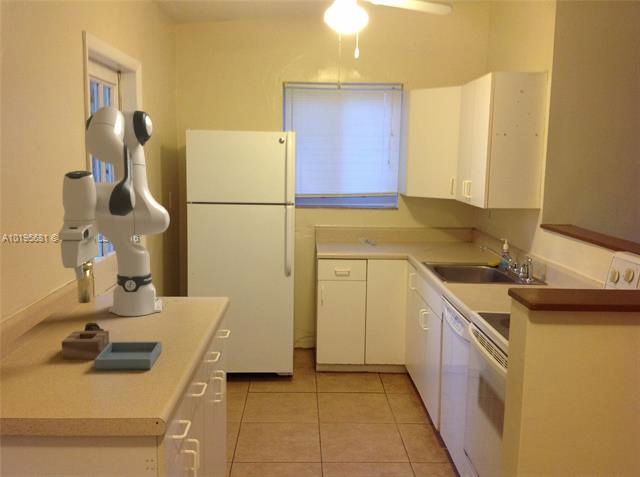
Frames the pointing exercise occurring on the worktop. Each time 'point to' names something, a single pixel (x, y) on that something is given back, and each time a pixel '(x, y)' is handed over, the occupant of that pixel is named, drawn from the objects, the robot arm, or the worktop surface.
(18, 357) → the worktop surface
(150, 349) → the tray
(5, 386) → the worktop surface
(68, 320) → the worktop surface
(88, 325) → the bolt
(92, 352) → the holder
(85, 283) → the pin
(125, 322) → the worktop surface
